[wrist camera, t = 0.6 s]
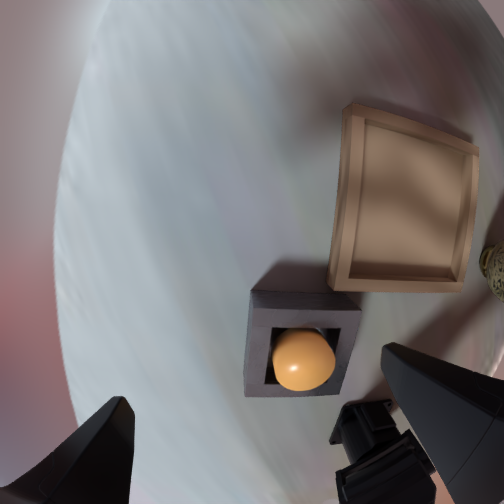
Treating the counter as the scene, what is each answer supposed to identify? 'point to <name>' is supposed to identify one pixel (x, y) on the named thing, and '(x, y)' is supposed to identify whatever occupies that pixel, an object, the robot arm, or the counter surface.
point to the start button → (302, 359)
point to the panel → (296, 316)
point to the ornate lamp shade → (494, 268)
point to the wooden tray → (401, 206)
